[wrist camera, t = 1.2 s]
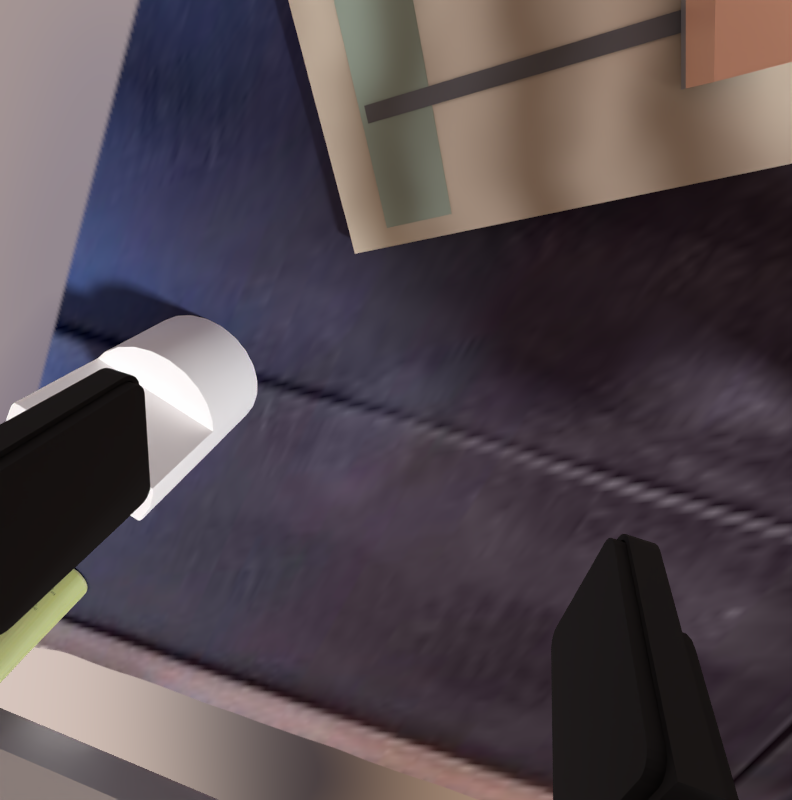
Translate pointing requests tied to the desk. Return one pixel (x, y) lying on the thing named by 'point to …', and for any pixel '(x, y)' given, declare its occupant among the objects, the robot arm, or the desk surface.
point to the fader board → (520, 110)
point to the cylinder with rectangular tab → (176, 393)
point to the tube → (39, 621)
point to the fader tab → (733, 38)
